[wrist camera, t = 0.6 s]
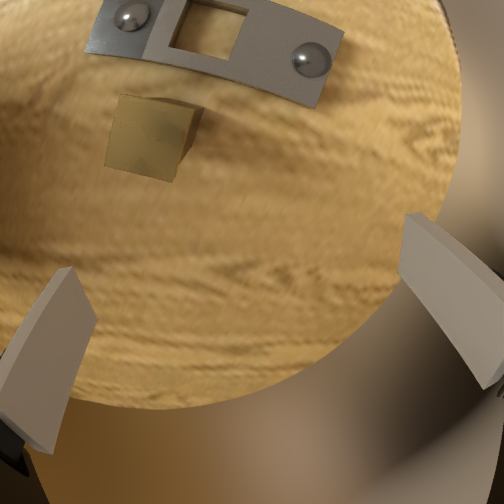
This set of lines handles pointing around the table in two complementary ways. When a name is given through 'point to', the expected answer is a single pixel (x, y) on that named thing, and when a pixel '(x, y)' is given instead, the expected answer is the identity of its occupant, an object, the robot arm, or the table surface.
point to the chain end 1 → (131, 27)
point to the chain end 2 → (258, 49)
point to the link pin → (151, 135)
